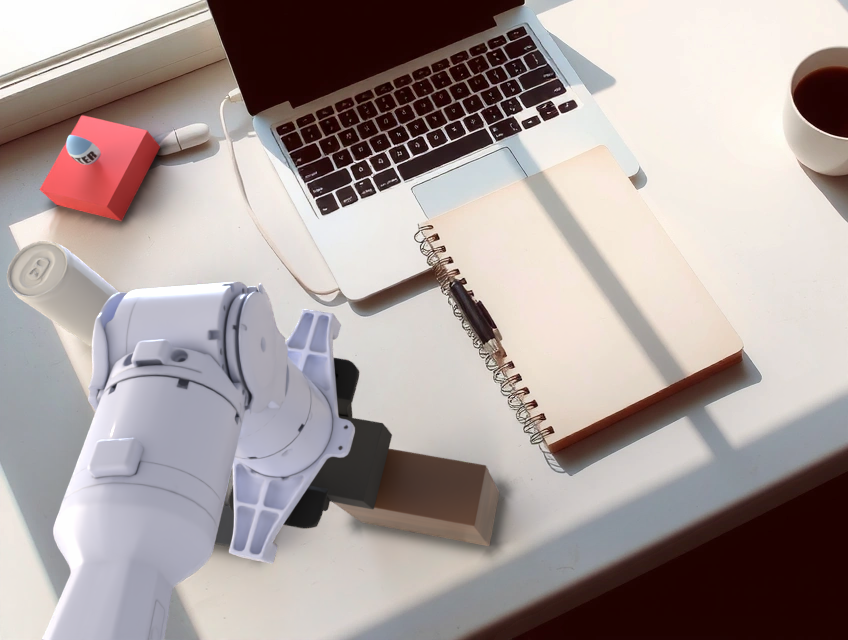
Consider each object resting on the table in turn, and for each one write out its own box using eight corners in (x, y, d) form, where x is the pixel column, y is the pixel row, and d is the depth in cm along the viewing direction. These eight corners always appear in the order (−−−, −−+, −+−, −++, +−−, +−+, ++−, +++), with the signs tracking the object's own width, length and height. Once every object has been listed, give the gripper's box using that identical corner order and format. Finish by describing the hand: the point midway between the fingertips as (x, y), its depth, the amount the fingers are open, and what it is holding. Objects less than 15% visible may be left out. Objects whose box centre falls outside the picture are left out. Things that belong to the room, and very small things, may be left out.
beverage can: (75, 342, 78) (-9, 286, 67) (105, 292, 80) (28, 230, 69) (122, 361, 77) (45, 307, 66) (152, 310, 79) (81, 250, 68)
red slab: (121, 221, 83) (86, 186, 77) (56, 204, 84) (16, 169, 79) (160, 146, 86) (129, 108, 80) (96, 131, 87) (61, 92, 82)
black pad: (373, 509, 60) (363, 501, 57) (257, 487, 61) (242, 478, 58) (392, 434, 62) (383, 422, 59) (279, 414, 63) (265, 402, 60)
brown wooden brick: (489, 546, 69) (474, 526, 60) (360, 522, 70) (327, 499, 62) (499, 492, 70) (486, 465, 62) (373, 469, 72) (343, 440, 63)
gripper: (290, 560, 46) (354, 587, 58) (365, 292, 52) (409, 368, 64) (159, 533, 47) (249, 565, 59) (246, 274, 53) (312, 352, 65)
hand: (325, 461), depth 62 cm, fingers closed on black pad, 5 cm apart
